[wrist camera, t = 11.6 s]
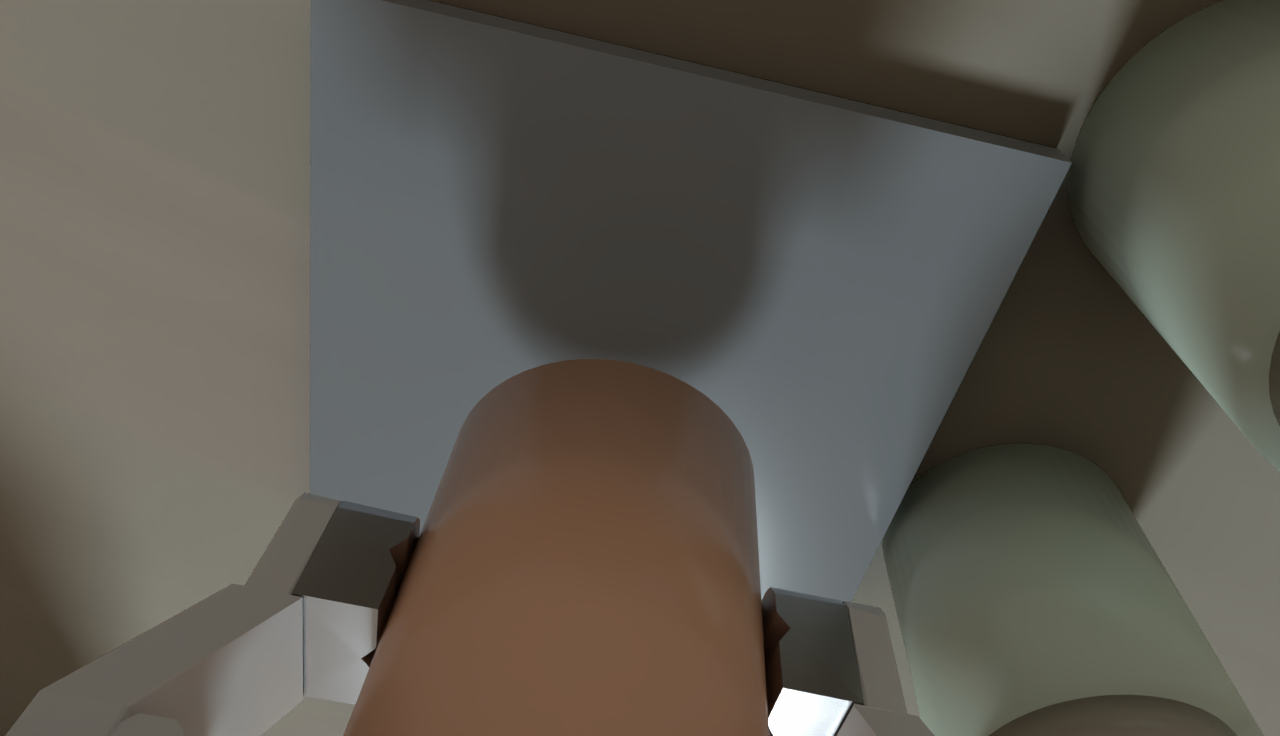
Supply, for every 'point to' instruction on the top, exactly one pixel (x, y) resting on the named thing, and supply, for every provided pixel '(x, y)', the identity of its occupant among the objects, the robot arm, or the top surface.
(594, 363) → the peach rounded cylinder
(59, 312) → the top surface
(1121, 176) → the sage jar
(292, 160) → the top surface
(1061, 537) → the cylinder
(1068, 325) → the top surface
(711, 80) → the slate coaster
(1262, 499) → the top surface
